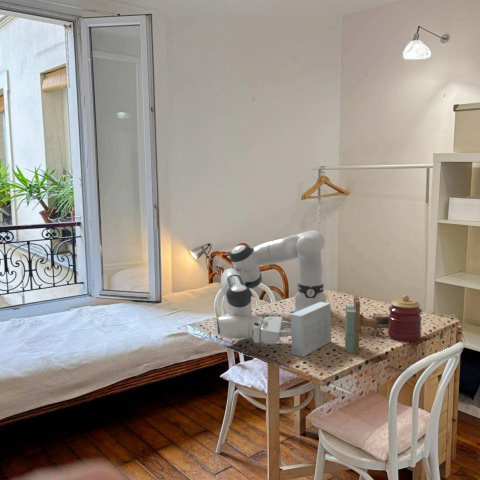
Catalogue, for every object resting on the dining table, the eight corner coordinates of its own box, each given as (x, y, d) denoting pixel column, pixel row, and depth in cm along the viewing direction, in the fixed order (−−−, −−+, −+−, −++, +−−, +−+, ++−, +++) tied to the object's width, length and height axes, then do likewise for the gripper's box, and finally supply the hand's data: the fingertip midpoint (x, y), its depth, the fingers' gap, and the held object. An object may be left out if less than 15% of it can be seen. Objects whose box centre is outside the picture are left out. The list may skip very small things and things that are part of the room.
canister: (390, 342, 202) (391, 299, 199) (385, 331, 214) (386, 290, 212) (424, 343, 200) (425, 299, 197) (417, 332, 212) (419, 291, 210)
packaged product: (375, 317, 219) (370, 311, 228) (374, 328, 219) (370, 321, 229) (417, 317, 218) (411, 311, 227) (417, 328, 218) (410, 321, 228)
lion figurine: (347, 333, 213) (347, 312, 211) (349, 329, 217) (350, 309, 216) (383, 337, 207) (384, 316, 206) (385, 333, 212) (385, 312, 211)
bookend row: (345, 344, 199) (345, 295, 196) (356, 345, 199) (357, 295, 196) (346, 353, 190) (347, 301, 187) (358, 353, 190) (360, 302, 187)
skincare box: (320, 338, 206) (320, 301, 204) (331, 341, 203) (332, 303, 200) (290, 354, 191) (290, 313, 188) (302, 357, 187) (302, 316, 185)
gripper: (260, 326, 208) (293, 328, 206) (254, 344, 188) (292, 346, 186) (260, 312, 207) (294, 313, 205) (254, 328, 187) (292, 329, 185)
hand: (293, 329), depth 196 cm, fingers open, 8 cm apart
